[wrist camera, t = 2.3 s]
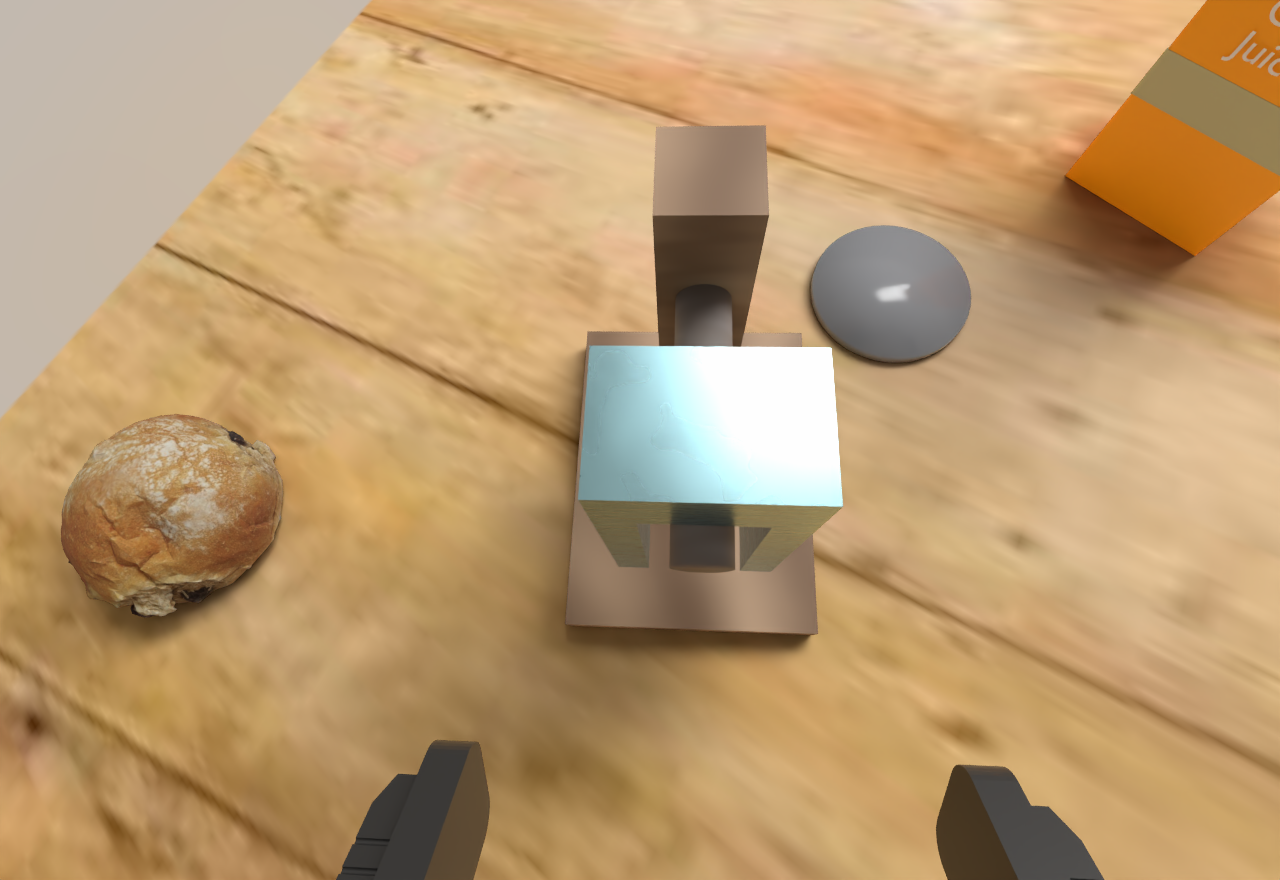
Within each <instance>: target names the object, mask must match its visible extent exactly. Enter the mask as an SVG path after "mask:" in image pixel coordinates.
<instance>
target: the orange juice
mask: <svg viewBox="0 0 1280 880" xmlns="http://www.w3.org/2000/svg"><path fill="white" fill-rule="evenodd" d="M1065 176H1066V177H1068V178H1069V179H1071V180H1073V181H1074V182H1076V183H1078V184H1079V185H1081V186H1082V187H1084V188H1086V189H1087V190H1089V191H1091V192H1092V193H1094V194H1095V195H1097V196H1099V197H1100V198H1102V199H1104V200H1105V201H1107V202H1108V203H1110V204H1112V205H1113V206H1115V207H1116V208H1118V209H1120V210H1121V211H1123V212H1125V213H1126V214H1128V215H1129V216H1131V217H1133V218H1134V219H1136V220H1138V221H1139V222H1141V223H1142V224H1144V225H1146V226H1147V227H1149V228H1151V229H1152V230H1154V231H1155V232H1157V233H1159V234H1160V235H1162V236H1163V237H1165V238H1167V239H1168V240H1170V241H1172V242H1173V243H1175V244H1176V245H1178V246H1180V247H1181V248H1183V249H1185V250H1186V251H1188V252H1189V253H1191V254H1193V255H1194V256H1196V255H1197V254H1198V253H1199V252H1201V251H1202V250H1203V249H1205V248H1206V247H1207V246H1208V245H1210V244H1211V243H1212V242H1214V241H1215V240H1216V239H1217V238H1219V237H1220V236H1221V235H1223V234H1224V233H1225V232H1227V231H1228V230H1229V229H1230V228H1232V227H1233V226H1234V225H1236V224H1237V223H1238V222H1239V221H1241V220H1242V219H1243V218H1245V217H1246V216H1247V215H1249V214H1250V213H1251V212H1252V211H1254V210H1255V209H1256V208H1258V207H1259V206H1260V205H1261V204H1263V203H1264V202H1265V201H1267V200H1268V199H1269V198H1270V197H1272V196H1273V195H1274V194H1276V193H1277V192H1278V191H1280V0H1207V1H1206V2H1205V4H1204V5H1203V6H1202V7H1201V9H1200V10H1199V11H1198V12H1197V14H1196V15H1195V16H1194V17H1193V18H1192V20H1191V21H1190V22H1189V23H1188V25H1187V26H1186V27H1185V28H1184V30H1183V31H1182V32H1181V33H1180V35H1179V36H1178V37H1177V38H1176V39H1175V41H1174V42H1173V43H1172V44H1171V45H1170V46H1169V47H1168V48H1167V49H1166V50H1165V52H1164V53H1163V54H1162V55H1161V57H1160V58H1159V59H1158V60H1157V61H1156V63H1155V64H1154V65H1153V66H1152V68H1151V69H1150V70H1149V71H1148V73H1147V74H1146V75H1145V76H1144V78H1143V79H1142V80H1141V81H1140V83H1139V84H1138V85H1137V86H1136V87H1135V89H1134V90H1133V91H1132V92H1131V95H1130V96H1129V98H1128V99H1127V100H1126V101H1125V102H1124V104H1123V105H1122V106H1121V107H1120V109H1119V110H1118V111H1117V112H1116V114H1115V115H1114V116H1113V117H1112V119H1111V120H1110V121H1109V122H1108V123H1107V125H1106V126H1105V127H1104V128H1103V130H1102V131H1101V132H1100V133H1099V135H1098V136H1097V137H1096V138H1095V140H1094V141H1093V142H1092V143H1091V144H1090V146H1089V147H1088V148H1087V149H1086V151H1085V152H1084V153H1083V154H1082V156H1081V157H1080V158H1079V159H1078V161H1077V162H1076V163H1075V164H1074V165H1073V167H1072V168H1071V169H1070V170H1069V172H1068V173H1067V174H1066V175H1065Z"/></svg>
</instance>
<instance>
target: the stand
mask: <svg viewBox="0 0 1280 880" xmlns="http://www.w3.org/2000/svg"><path fill="white" fill-rule="evenodd" d="M768 217H769V203H768V177H767V150H766V126H688V127H656V145H655V170H654V195H653V232H654V253H655V273H656V293H657V314H658V332H588V335H587V348H586V361H585V374H584V387H583V400H582V413H581V426H580V439H579V451H578V464H577V477H576V490H575V503H574V516H573V529H572V542H571V555H570V568H569V581H568V594H567V607H566V620H565V624H566V625H569V626H590V627H615V628H641V629H667V630H692V631H718V632H744V633H769V634H795V635H815V634H818V626H817V608H816V590H815V572H814V553H813V535H811V536H810V537H809V538H808V539H807V540H805V541H804V542H803V543H802V544H801V545H800V546H799V547H798V548H797V549H795V550H794V551H793V552H792V553H791V554H790V555H789V556H788V557H787V558H786V559H784V560H783V561H782V562H781V563H780V564H779V565H778V566H777V567H776V568H774V569H773V570H772V571H771V572H757V571H740V542H739V527H734V526H698V525H663V524H650V549H649V568H635V567H619V566H618V565H617V563H616V561H615V560H614V558H613V557H612V555H611V553H610V552H609V550H608V548H607V547H606V545H605V543H604V542H603V540H602V538H601V537H600V535H599V534H598V532H597V530H596V529H595V527H594V525H593V524H592V522H591V520H590V519H589V517H588V516H587V514H586V512H585V511H584V509H583V507H582V506H581V504H580V502H579V501H578V493H579V479H580V466H581V453H582V439H583V426H584V413H585V400H586V386H587V373H588V360H589V347H590V346H690V347H794V348H802V335H801V333H744V330H745V325H746V320H747V316H748V311H749V306H750V302H751V297H752V292H753V288H754V283H755V278H756V274H757V269H758V264H759V259H760V255H761V250H762V245H763V241H764V236H765V231H766V227H767V222H768Z"/></svg>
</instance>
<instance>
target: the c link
mask: <svg viewBox="0 0 1280 880" xmlns="http://www.w3.org/2000/svg"><path fill="white" fill-rule="evenodd" d="M578 501H579V502H580V504H581V506H582V507H583V509H584V511H585V512H586V514H587V516H588V517H589V519H590V520H591V522H592V524H593V525H594V527H595V529H596V530H597V532H598V534H599V535H600V537H601V538H602V540H603V542H604V543H605V545H606V547H607V548H608V550H609V552H610V553H611V555H612V557H613V558H614V560H615V561H616V563H617V565H618V566H619V567H635V568H649V549H650V524H663V525H698V526H734V527H739V542H740V571H757V572H771V571H772V570H773V569H774V568H776V567H777V566H778V565H779V564H780V563H781V562H782V561H783V560H784V559H786V558H787V557H788V556H789V555H790V554H791V553H792V552H793V551H794V550H795V549H797V548H798V547H799V546H800V545H801V544H802V543H803V542H804V541H805V540H807V539H808V538H809V537H810V536H811V535H812V534H813V533H814V532H815V531H817V530H818V529H819V528H820V527H821V526H822V525H823V524H824V523H825V522H826V521H828V520H829V519H830V518H831V517H832V516H833V515H834V514H835V513H836V512H838V511H839V510H840V509H841V508H842V507H843V501H842V488H841V474H840V460H839V446H838V433H837V419H836V405H835V391H834V378H833V364H832V350H831V348H794V347H690V346H590V347H589V360H588V373H587V386H586V400H585V413H584V426H583V439H582V453H581V466H580V479H579V493H578Z"/></svg>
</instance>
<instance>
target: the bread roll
mask: <svg viewBox="0 0 1280 880" xmlns="http://www.w3.org/2000/svg"><path fill="white" fill-rule="evenodd" d="M275 458H276V457H275V455H274V453H273V452H272V451H271V449H270V448H269V447H268V446H267V445H266V444H265V443H263V442H261V441H258V440H257V441H256V442H255V443H254V444H253V445H252V444H250V443H249V442H247V441H245V440H244V439H243V438H242V437H241V436H240V435H238V434H236V433H235V432H233V431H231V432H230V431H228V430H227V429H226V428H224V427H222V426H221V425H219V424H216V423H214V422H211V421H209V420H206V419H203V418H199V417H194V416H187V415H179V414H174V415H164V416H162V415H161V416H158V417H153V418H149V419H146V420H143V421H139V422H136V423H134V424H132V425H130V426H128V427H126V428H124V429H122V430H121V431H119V432H117V433H116V434H114V435H113V436H112V437H110V438H109V439H108V440H105V441H103V442H101V443H99V444H97V445H96V447H95V448H94V450H93V451H92V453H91V455H90V457H89V459H88V461H87V462H86V463H85V464H84V466H83V468H82V469H81V470H80V471H79V472H78V474H77V475H76V477H75V479H74V481H73V482H72V484H71V485H70V487H69V489H68V492H67V495H66V496H65V500H64V504H63V509H62V527H61V541H62V546H63V550H64V552H65V554H66V556H67V558H68V559H69V563H71V564H72V565H73V566H74V568H75V569H76V571H77V572H78V574H79V575H80V577H81V580H82V581H83V582H84V583H85V586H86V591H87V596H88V597H89V598H90V599H97V600H102V601H106V602H109V603H110V604H112V605H114V606H115V607H117V608H120V607H123V606H129V605H132V606H131V611H132V614H135V615H138V616H141V617H151V616H165V615H166V614H168V613H172V612H174V611H176V610H177V609H176V608H174V606H175V603H185V602H196V603H199V602H201V601H202V600H203V599H205V598H206V597H207V596H208V595H210V594H211V593H212V592H213V591H214V590H217V589H219V588H222V587H225V586H227V585H230V584H232V583H233V582H234V581H235V580H236V579H238V578H239V577H240V576H241V575H242V574H243V573H244V572H245V571H246V570H247V569H250V568H251V566H252V564H253V563H254V562H255V561H256V560H257V559H258V557H259V556H261V554H262V553H263V552H264V551H265V550H266V549H267V547H268V546H269V545H270V544H271V542H272V541H273V539H274V533H275V531H276V529H277V526H278V523H279V521H280V519H281V516H280V515H281V504H282V496H283V484H282V479H281V476H280V474H279V473H278V471H277V469H276V467H275V465H274V462H273V460H274V459H275ZM149 578H150V579H149Z"/></svg>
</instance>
